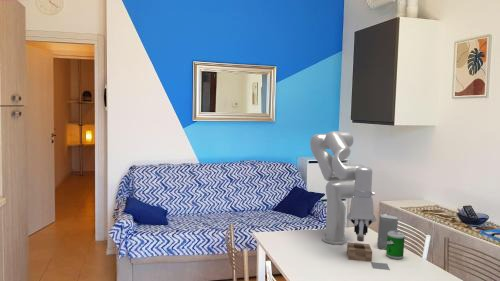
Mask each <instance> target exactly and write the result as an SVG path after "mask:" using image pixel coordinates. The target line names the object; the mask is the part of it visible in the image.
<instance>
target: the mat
mask: <svg viewBox="0 0 500 281" xmlns="http://www.w3.org/2000/svg"><path fill="white" fill-rule="evenodd" d="M370 264H371V268H372V269H373V270H374V269H375V270H387V271H391V269H390V267H389V265H388V263H385V262H373V261H372V262H370Z"/></svg>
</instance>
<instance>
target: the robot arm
mask: <svg viewBox="0 0 500 281" xmlns="http://www.w3.org/2000/svg"><path fill="white" fill-rule="evenodd" d="M353 145H354V136H353V135H352V133H351V132H349V131H346V130H344V131H343V130H341V131H340V130H339V131H338V130H332V131H329V132H327V133H316V134H314V135H312V136H311V138H310V140H309V147H310V150H311V154H312V155H313V156H314V158H315V160H316V162H317V163H318V167H319V168H320V172H321V174H322V177H323V179H324V180H325V181H327V183H326V185H325V194H326V195H325V196H326V213H325V214H326V216H325V218H326V219H325V234H324V235H323V236H322V237H321V239H322V241H323V242H325V243H327V244H331V245H344V244H345V245H346V244H347V242H348V239H347V238H346V237H345V227H346V219H347V220H348V221H349V222H351V223H352V224H353V226H354V227H353V229H354V230H353V231H354V233H355V235H356V236H357V234H358V219H362V220H365V226H364V236H367V234H368V229H369V228H368V227H369V226H370V225H371V224H373V223H375V222H376V221H377V218H376V216H375V214H374V212H375V210H374V199H373V197H372V196H375V194H376V193H375V192H373V191H372V190H373V188H372V186H373V170H372V168H371V167H369V166H364V165H362V164H348V163H343V161H345V160H346V159H348V158H349V157H350V155H351V151H352V150H351V147H352V146H353ZM327 150H330V151H331V153H332V154H331V153H330V152H329V151H327ZM343 199H344V200H345V199H351V200H350V206H349V212H348V215H346V209H347V208H346V205H345V203H344V202H343Z"/></svg>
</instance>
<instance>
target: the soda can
mask: <svg viewBox="0 0 500 281" xmlns="http://www.w3.org/2000/svg"><path fill="white" fill-rule="evenodd" d="M405 236H406V235H405V234H404V233H403V231H400V230H397V231H396V230H391V231H389V232H388V233H387V248H386V249H385V254H386V256H387V257H388V258H390V259H394V260H400V259H403V258H404V252H405V251H404V250H405V238H406V237H405Z"/></svg>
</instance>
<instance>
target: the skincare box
mask: <svg viewBox="0 0 500 281" xmlns="http://www.w3.org/2000/svg"><path fill="white" fill-rule="evenodd" d="M398 223H399V219H398V217H397V216H396V215H389V214H381V213H380V214H379V221H378V232H377V243H376V245H377V247H378V249H380V250H386V248H387V233H388V232H389V231H391V230H396V231H398Z"/></svg>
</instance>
